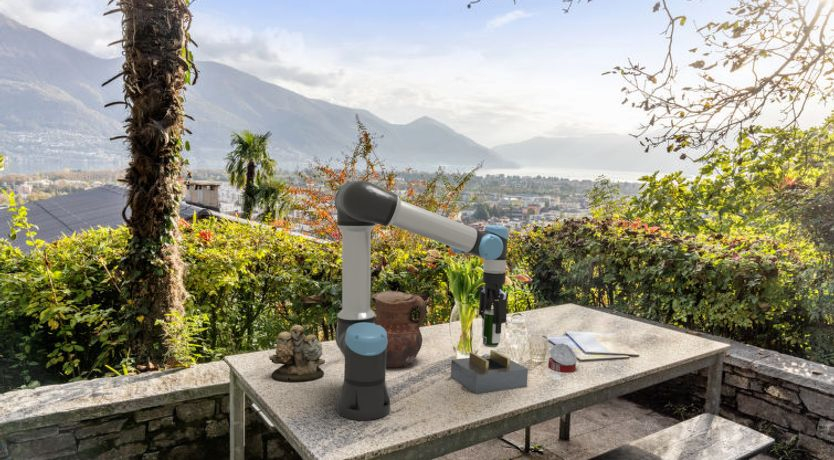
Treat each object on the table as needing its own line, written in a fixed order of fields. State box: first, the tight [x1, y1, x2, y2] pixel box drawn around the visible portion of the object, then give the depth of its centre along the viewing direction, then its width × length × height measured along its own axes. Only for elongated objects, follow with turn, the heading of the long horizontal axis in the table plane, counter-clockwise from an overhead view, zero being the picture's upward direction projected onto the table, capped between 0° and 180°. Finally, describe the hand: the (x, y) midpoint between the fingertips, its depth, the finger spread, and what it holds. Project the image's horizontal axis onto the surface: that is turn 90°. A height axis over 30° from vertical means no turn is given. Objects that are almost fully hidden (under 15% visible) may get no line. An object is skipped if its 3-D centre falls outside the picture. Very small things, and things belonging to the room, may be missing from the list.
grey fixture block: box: [450, 349, 529, 395], centre depth 168 cm, size 23×18×9 cm
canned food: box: [547, 343, 578, 374], centre depth 185 cm, size 11×10×10 cm
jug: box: [370, 290, 428, 368], centre depth 182 cm, size 22×21×25 cm
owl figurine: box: [268, 324, 326, 383], centre depth 163 cm, size 18×12×17 cm, turn 108°
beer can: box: [482, 308, 500, 348], centre depth 166 cm, size 5×5×12 cm
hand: (490, 340), depth 166 cm, fingers closed on beer can, 5 cm apart
